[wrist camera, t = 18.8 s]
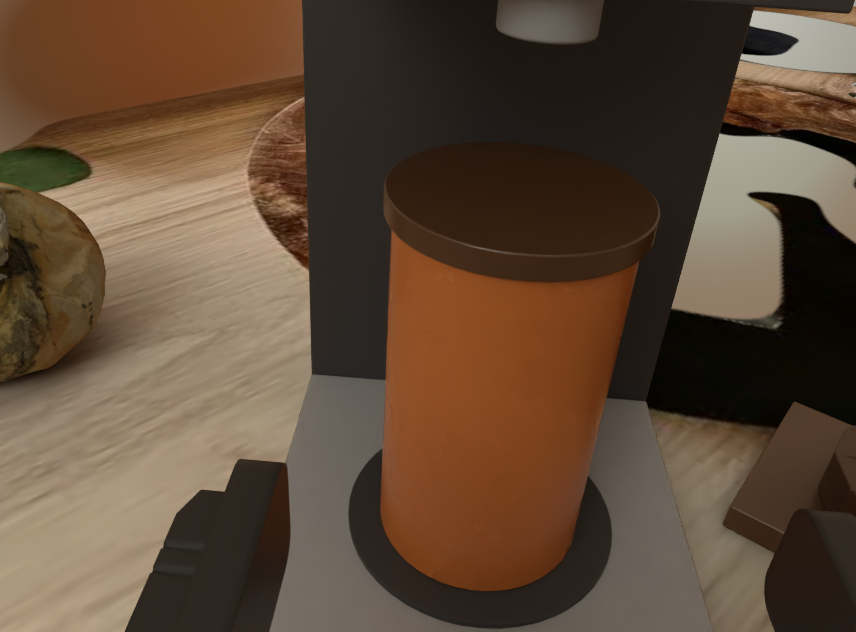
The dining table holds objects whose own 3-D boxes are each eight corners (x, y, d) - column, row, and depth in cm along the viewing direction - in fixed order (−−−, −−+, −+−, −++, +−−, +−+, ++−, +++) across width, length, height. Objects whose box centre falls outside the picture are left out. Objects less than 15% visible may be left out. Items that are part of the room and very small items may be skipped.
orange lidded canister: (617, 503, 23) (703, 191, 17) (507, 642, 19) (575, 289, 13) (454, 415, 26) (485, 124, 20) (329, 518, 22) (325, 188, 16)
